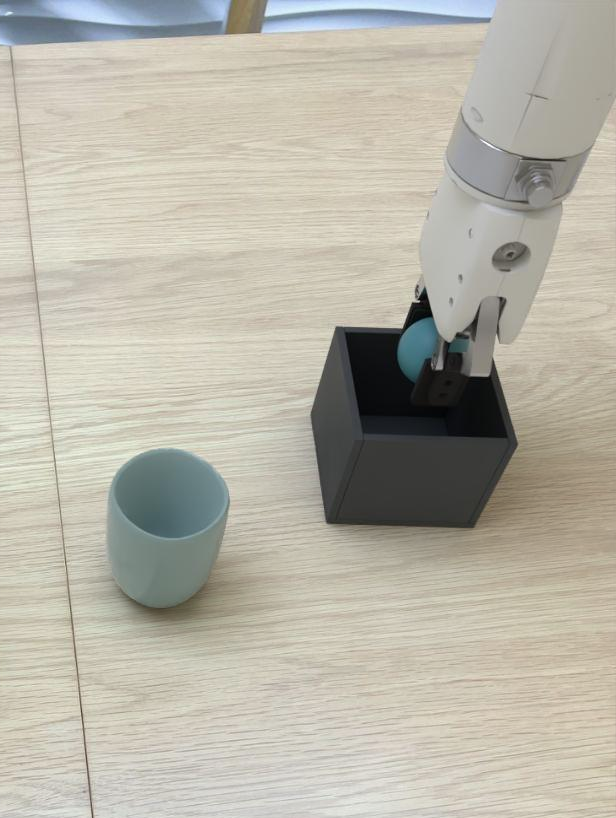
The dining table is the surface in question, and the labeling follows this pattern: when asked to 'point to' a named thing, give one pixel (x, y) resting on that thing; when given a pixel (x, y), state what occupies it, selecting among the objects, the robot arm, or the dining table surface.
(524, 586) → the dining table surface
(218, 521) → the cup
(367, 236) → the dining table surface
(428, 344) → the teal ball
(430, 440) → the bin
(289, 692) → the dining table surface
